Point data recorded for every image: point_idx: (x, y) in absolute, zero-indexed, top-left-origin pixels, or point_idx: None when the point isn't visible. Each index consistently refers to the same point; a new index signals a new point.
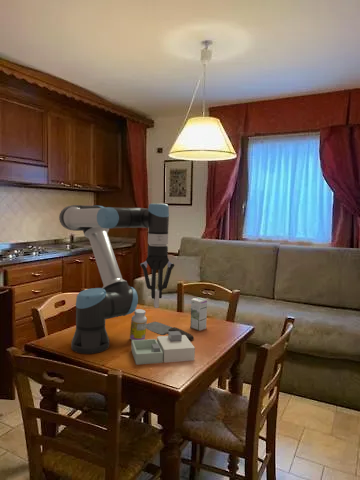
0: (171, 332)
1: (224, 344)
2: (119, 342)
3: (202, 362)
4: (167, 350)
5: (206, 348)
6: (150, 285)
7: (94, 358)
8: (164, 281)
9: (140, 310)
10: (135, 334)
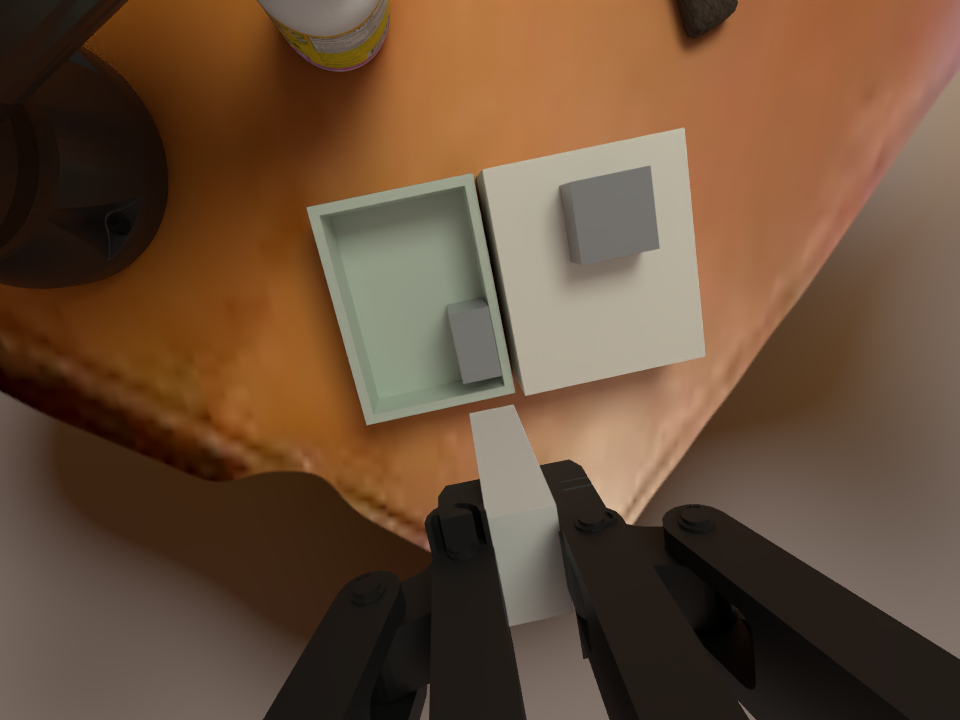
0: (591, 202)
1: (900, 99)
2: (219, 77)
3: (707, 362)
4: (543, 390)
5: (773, 171)
6: (416, 643)
7: (132, 340)
8: (748, 605)
9: None
10: (316, 59)
